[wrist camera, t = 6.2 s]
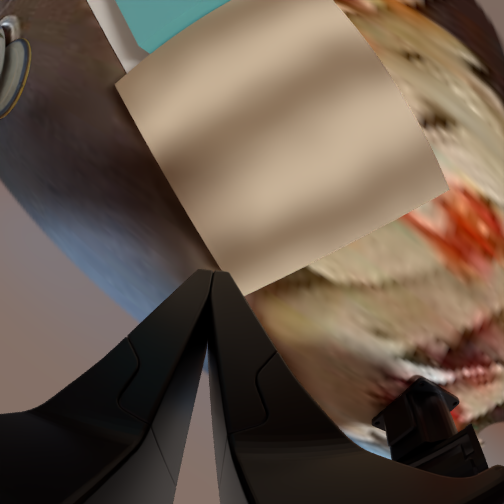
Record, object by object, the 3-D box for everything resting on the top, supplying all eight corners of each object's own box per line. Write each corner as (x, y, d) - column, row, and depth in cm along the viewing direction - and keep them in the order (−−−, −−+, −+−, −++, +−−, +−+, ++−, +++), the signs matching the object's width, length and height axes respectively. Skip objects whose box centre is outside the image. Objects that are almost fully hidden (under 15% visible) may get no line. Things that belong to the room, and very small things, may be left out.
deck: (430, 185, 17) (449, 189, 14) (249, 280, 21) (239, 298, 18) (303, -10, 14) (300, -33, 11) (137, 91, 18) (114, 84, 16)
